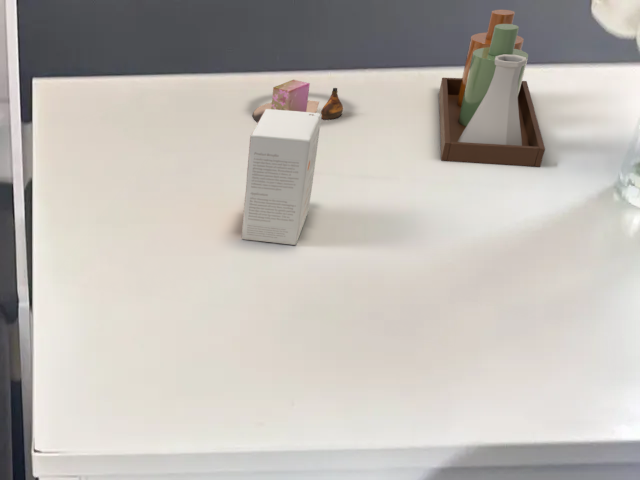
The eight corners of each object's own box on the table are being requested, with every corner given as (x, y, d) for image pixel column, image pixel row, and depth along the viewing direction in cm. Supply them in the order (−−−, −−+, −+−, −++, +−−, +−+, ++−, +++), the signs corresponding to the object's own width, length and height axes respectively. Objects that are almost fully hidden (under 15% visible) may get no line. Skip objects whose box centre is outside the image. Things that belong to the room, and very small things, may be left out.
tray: (521, 101, 123) (526, 80, 122) (538, 172, 104) (545, 148, 103) (438, 97, 126) (442, 77, 124) (440, 165, 107) (444, 142, 106)
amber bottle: (505, 98, 123) (528, 6, 116) (508, 113, 118) (532, 18, 112) (456, 96, 124) (475, 5, 118) (457, 110, 120) (477, 17, 113)
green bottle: (509, 115, 117) (533, 20, 111) (512, 132, 113) (537, 33, 106) (457, 113, 119) (477, 19, 112) (458, 129, 114) (480, 32, 108)
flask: (444, 152, 109) (464, 61, 103) (469, 134, 113) (489, 45, 107) (509, 165, 105) (534, 71, 99) (532, 145, 109) (556, 54, 103)
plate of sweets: (311, 138, 116) (316, 100, 113) (233, 117, 123) (236, 82, 120) (366, 113, 122) (372, 77, 119) (289, 95, 129) (293, 61, 127)
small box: (255, 208, 100) (264, 107, 94) (309, 214, 98) (323, 111, 92) (239, 240, 94) (248, 134, 88) (296, 246, 92) (310, 139, 86)
